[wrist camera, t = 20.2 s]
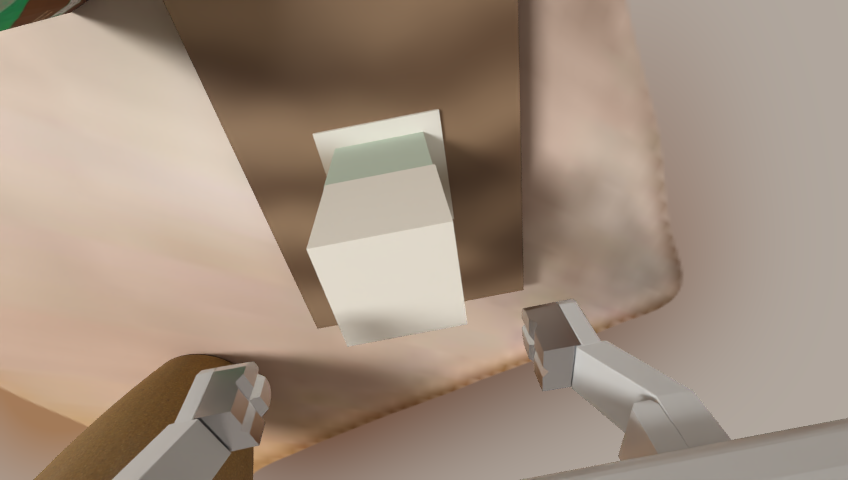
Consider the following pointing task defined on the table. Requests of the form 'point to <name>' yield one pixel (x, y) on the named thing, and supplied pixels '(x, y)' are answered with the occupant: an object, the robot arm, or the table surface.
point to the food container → (33, 11)
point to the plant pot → (140, 427)
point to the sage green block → (378, 158)
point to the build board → (369, 111)
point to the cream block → (388, 256)
